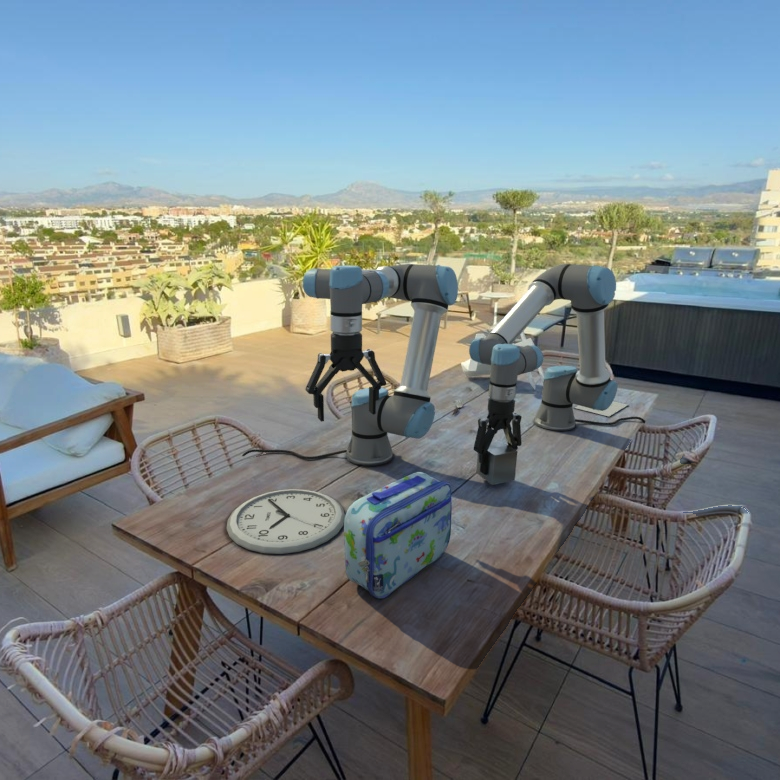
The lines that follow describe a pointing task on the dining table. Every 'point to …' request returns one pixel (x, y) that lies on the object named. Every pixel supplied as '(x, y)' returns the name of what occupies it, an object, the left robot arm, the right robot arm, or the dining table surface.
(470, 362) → the white plastic object
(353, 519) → the lunch box
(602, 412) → the invitation card
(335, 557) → the dining table surface
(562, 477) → the dining table surface
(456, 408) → the fork
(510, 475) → the block
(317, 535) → the wall clock
